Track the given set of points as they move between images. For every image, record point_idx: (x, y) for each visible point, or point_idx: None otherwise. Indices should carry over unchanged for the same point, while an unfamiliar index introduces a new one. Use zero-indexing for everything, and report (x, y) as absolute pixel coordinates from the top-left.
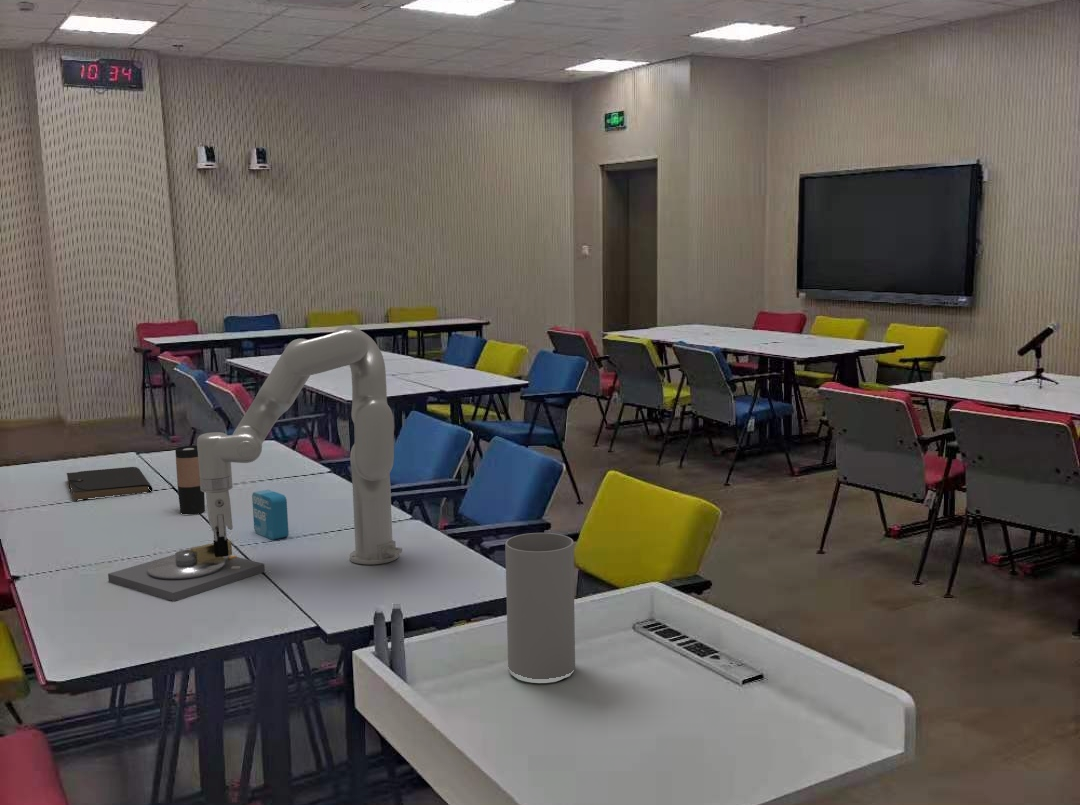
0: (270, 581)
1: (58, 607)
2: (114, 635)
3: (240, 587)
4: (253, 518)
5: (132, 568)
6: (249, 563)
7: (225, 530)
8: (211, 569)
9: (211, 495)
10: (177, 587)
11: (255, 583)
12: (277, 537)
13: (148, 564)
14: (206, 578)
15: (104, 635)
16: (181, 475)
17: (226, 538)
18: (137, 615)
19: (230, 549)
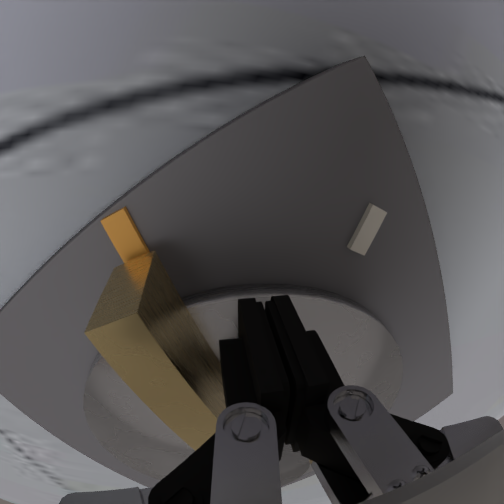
0: (469, 96)
1: (323, 498)
2: (485, 405)
3: (471, 216)
4: None
5: None
6: (315, 135)
7: (429, 472)
8: (397, 347)
9: None
10: (427, 397)
11: (466, 155)
12: None
13: (148, 477)
14: (418, 344)
15: (476, 415)
16: None
17: (377, 403)
18: (451, 409)
19: (155, 280)
